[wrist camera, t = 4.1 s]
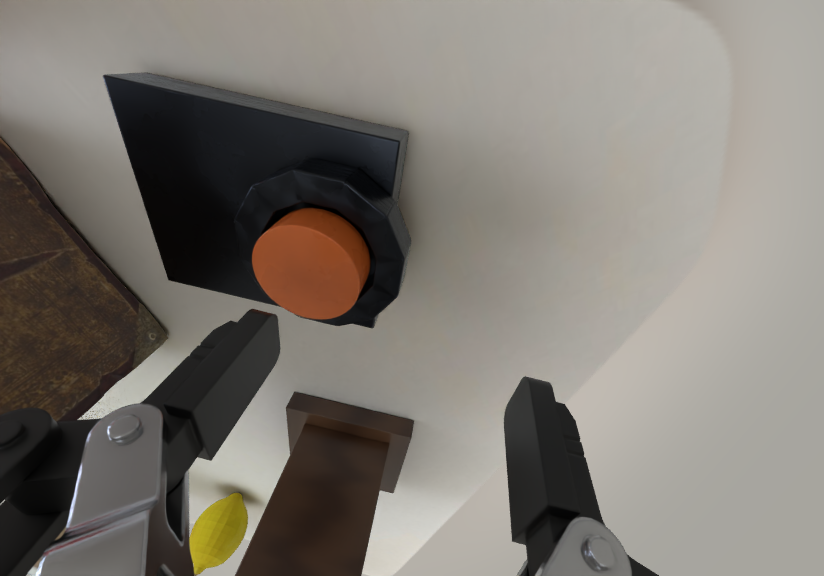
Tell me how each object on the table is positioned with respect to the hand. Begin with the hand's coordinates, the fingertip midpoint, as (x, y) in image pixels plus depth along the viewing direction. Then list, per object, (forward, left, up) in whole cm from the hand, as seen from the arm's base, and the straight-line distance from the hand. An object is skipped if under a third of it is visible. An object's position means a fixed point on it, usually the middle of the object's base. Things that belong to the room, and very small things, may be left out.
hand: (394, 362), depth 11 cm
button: (+4, 0, -5) cm, 6 cm away
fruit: (+16, +40, -9) cm, 44 cm away
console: (+8, 0, -8) cm, 11 cm away
